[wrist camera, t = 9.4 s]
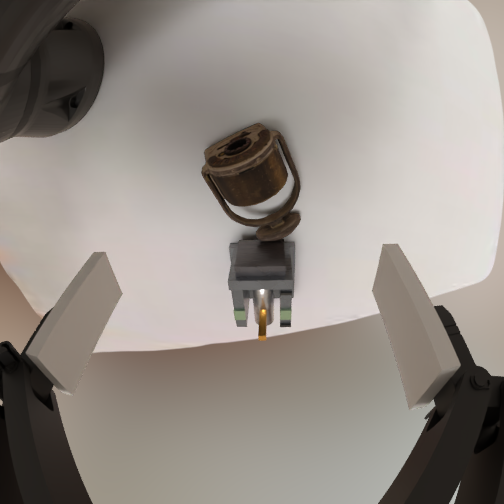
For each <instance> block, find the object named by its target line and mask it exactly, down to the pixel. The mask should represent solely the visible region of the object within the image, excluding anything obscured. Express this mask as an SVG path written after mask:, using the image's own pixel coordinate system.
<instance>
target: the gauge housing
mask: <svg viewBox="0 0 504 504" xmlns="http://www.w3.org/2000/svg"><path fill="white" fill-rule="evenodd" d="M238 244H239V243H230V247H229V250H230V258H231V267H230V273H229V278H228V285H229V290H231V291H232V298H233V305H234V316H235V320H236V324H237V327H247V320H248V309H249V298H253V292H252V290H273V298H280V327H291V300H292V298H293V296H294V266H295V243H294V242H284V250H285V266H286V270H285V276H241V277H236V276H235V268H234V266H235V261H236V255H237V249H238Z"/></svg>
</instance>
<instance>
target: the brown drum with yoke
mask: <svg viewBox="0 0 504 504" xmlns="http://www.w3.org/2000/svg"><path fill="white" fill-rule="evenodd" d="M276 139H278V141H279V144H280V146H281V149H282V151H283V154H284V156H285V159H286V161H287V163H288V165H289V168H290V170H291V173H292V175H293V177H294V181H295V183H294V188H293V191H292V194H291V197H290V199H289V200H288V202H287V203H286V204H285V205H284V207H283V208H282V209H280V210H279V211H278V212H275V213H273V214H271V215H269V216H267V217H265V218H261V219H246V218H243V217H241V216H239V215H237V214H235V213H234V212H233V211H231V209H230V208H229V206H228V205H227V203H226V202H225V200H224V199H226V200H227V201H228V202H229V203H230V204H232V205H235V206H243V207H245V206H251V205H256V204H259V203H261V202H264V201H266V200H268V199H269V198H271V197H273V196H274V195H276V194H277V193H278V192H279V191H280V190H281V189H282V188H283V186H284V185H285V183H286V181H287V177H288V173H287V169H286V167H285V165H284V162H283V160H282V157H281V155H280V152H279V150H278V146H277V144H276V141H275V140H276ZM204 153H205V159H206V164H205V165H204V166H203V168H202V172H201V173H202V176H203V178H204V179H205V181H206V183H207V184H208V186H209V187H210V189H211V191H212V192H213V194H214V196H215V197H216V199H217V200H218V202H219V203H220V205H221V207H222V208H223V210H224V211H225V213H226V214H227V215H228V216H229V217H230V218H231V219H232V220H234V221H236V222H238V223H240V224H243V225H245V226H251V227H258V226H261V227H260V228H259V229H258V230H257V231H256V236H257V238H258V239H259V240H261V241H275V240H279V239H282V238H284V237H286V236H288V235H289V234H291V233H292V232H293V231H294V229H295V228H296V227H297V226H298V224H299V222H300V220H301V218H300V215H299V214H297V213H289V212H290V211H291V210H292V209H293V207H294V205H295V203H296V201H297V199H298V197H299V192H300V187H301V186H300V179H299V176H298V173H297V170H296V168H295V165H294V162H293V160H292V157H291V155H290V152H289V150H288V147H287V145H286V143H285V140H284V138H283V136H282V135H281V134H280V132H277V131H269V130H268V129H266V128H265V127H264V126H263V125H262V124H260V123H257V124H255V125H253V126H251V127H248V128H246V129H244V130H242V131H240V132H237V133H235V134H233V135H231V136H229V137H227V138H226V139H224V140H222V141H220V142H218V143H216V144H215V145H213V146H211V147H209V148H207V149H206V150H205V152H204Z"/></svg>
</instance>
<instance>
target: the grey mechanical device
mask: <svg viewBox="0 0 504 504" xmlns="http://www.w3.org/2000/svg"><path fill="white" fill-rule="evenodd" d="M234 268H235V276H236V277H241V276H285V270H286V266H285V250H284V239H279V240H275V241H261V240H239V244H238V249H237V255H236V261H235V266H234ZM252 292H253V303H254V315H255V322H256V323H257V324H258V325H259V334H258V337H259V340H266V326H267V325H270V324H271V323H272V322H273V320H274V304H273V290H252Z"/></svg>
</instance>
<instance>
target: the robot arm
mask: <svg viewBox="0 0 504 504" xmlns="http://www.w3.org/2000/svg"><path fill="white" fill-rule="evenodd" d="M79 1H80V0H0V143H1V142H3V141H5V140H7V139H10V138H12V137H39V138H43V137H49V136H53V135H56V134H58V133H61V132H63V131H66V130H68V129H69V128H71V127H73V126H74V125H75V124H77V123H78V122H79V121H80V120H81V119H82V118H83V117H84V115H85V114H86V113H87V111H88V110H89V108H90V107H91V105H92V103H93V102H94V100H95V97H96V95H97V93H98V90H99V87H100V84H101V80H102V74H103V66H104V56H103V48H102V44H101V41H100V38H99V36H98V34H97V33H96V31H95V30H94V29H93V27H92V26H90V25H89V24H88V23H86V22H84V21H82V20H79V19H73V18H64V16H65V15H66V14H67V13H68V12H69V11H70V10H71V9H72V8H73V7H74V6H75V5H76V4H77V3H78V2H79ZM372 292H373V294H374V297H375V300H376V302H377V305H378V308H379V311H380V313H381V316H382V319H383V322H384V325H385V328H386V331H387V334H388V337H389V339H390V343H391V346H392V349H393V352H394V356H395V359H396V362H397V365H398V369H399V372H400V376H401V380H402V383H403V387H404V390H405V394H406V398H407V402H408V406H409V410H413V409H418V408H422V407H426V406H427V405H428V404H429V403H430V402H431V401H432V400H433V399H434V402H435V405H436V406H435V407H434V408H433V409H432V410H431V411H430V412H429V413H428V414H427V415H426V417H425V419H427V418H429V419H428V421H427V423H426V425H425V427H424V429H423V431H422V433H421V435H420V437H419V439H418V441H417V443H416V445H415V447H414V448H413V450H412V452H411V454H410V455H409V457H408V459H407V461H406V462H405V464H404V466H403V467H402V469H401V471H400V472H399V474H398V476H397V477H396V479H395V480H394V482H393V483H392V485H391V486H390V488H389V489H388V491H387V492H386V493H385V495H384V496H383V498H382V499H381V500H380V502H379V503H378V504H449V502H450V501H451V499H452V497H453V495H454V493H455V491H456V489H457V487H458V485H459V483H460V486H459V490H458V493H457V496H456V500H455V503H454V504H504V377H501V376H491V375H490V374H489V373H488V371H487V370H486V369H484V368H483V367H480V366H476V364H475V363H474V360H473V358H472V356H471V354H470V351H469V349H468V347H467V345H466V343H465V341H464V339H463V337H462V335H461V334H460V331H459V329H458V327H457V326H456V323H455V321H454V319H453V317H452V315H451V314H450V313H449V312H448V311H447V310H446V309H445V308H444V307H443V306H442V305H441V306H433V304H432V302H431V300H430V298H429V297H428V295H427V293H426V291H425V289H424V287H423V286H422V284H421V282H420V280H419V278H418V277H417V275H416V273H415V272H414V270H413V268H412V266H411V265H410V263H409V261H408V260H407V258H406V256H405V255H404V253H403V251H402V250H401V248H400V247H399V245H398V244H383V246H382V251H381V256H380V260H379V265H378V269H377V273H376V277H375V282H374V286H373V289H372ZM121 295H122V291H121V289H120V287H119V284H118V282H117V280H116V277H115V275H114V272H113V270H112V268H111V265H110V263H109V260H108V257H107V255H106V252H94V253H93V254H92V255H91V257H90V258H89V259H88V260H87V262H86V263H85V264H84V266H83V267H82V268H81V270H80V271H79V272H78V274H77V275H76V276H75V278H74V279H73V280H72V282H71V283H70V284H69V286H68V287H67V289H66V290H65V292H64V293H63V294H62V296H61V297H60V299H59V300H58V302H57V303H56V305H55V306H54V307H53V308H52V309H51V310H50V311H49V312H47V313H46V314H45V316H44V317H43V319H42V320H41V322H40V324H39V325H38V327H37V328H36V331H34V333H33V335H32V336H31V338H30V340H29V341H28V343H27V345H26V346H25V348H24V350H23V352H22V353H21V355H20V354H19V353H18V352H17V351H16V349H15V348H14V347H13V345H12V344H11V343H10V342H9V341H4V342H1V343H0V399H1V400H2V401H3V404H2V406H1V405H0V504H93V503H92V501H91V499H90V497H89V495H88V493H87V491H86V488H85V486H84V484H83V481H82V479H81V477H80V474H79V471H78V469H77V466H76V464H75V461H74V458H73V455H72V453H71V450H70V447H69V444H68V440H67V437H66V434H65V431H64V427H63V424H62V420H61V416H60V412H59V408H58V404H57V400H56V395H55V393H54V391H53V390H52V387H53V385H54V386H55V387H56V388H57V389H58V390H59V391H60V392H62V393H65V394H68V395H71V396H73V395H74V393H75V390H76V388H77V386H78V384H79V381H80V379H81V377H82V374H83V372H84V370H85V368H86V365H87V363H88V361H89V359H90V357H91V355H92V352H93V350H94V348H95V346H96V344H97V342H98V340H99V338H100V336H101V334H102V332H103V330H104V328H105V326H106V324H107V322H108V320H109V318H110V316H111V314H112V312H113V310H114V308H115V307H116V305H117V303H118V301H119V299H120V297H121ZM460 481H461V482H460Z"/></svg>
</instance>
